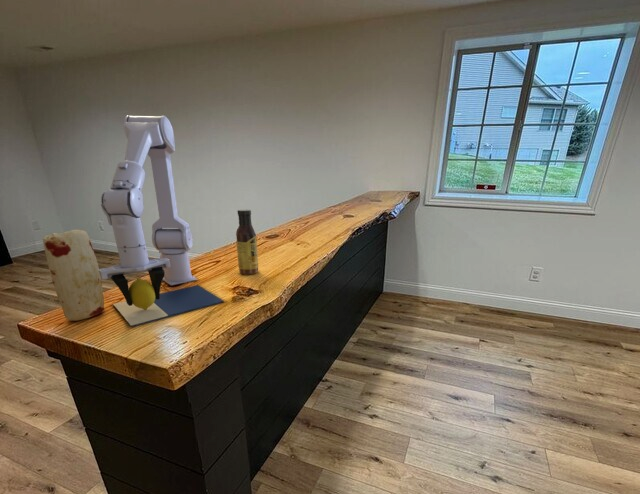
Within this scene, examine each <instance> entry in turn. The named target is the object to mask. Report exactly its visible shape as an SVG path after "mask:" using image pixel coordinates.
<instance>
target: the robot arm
mask: <svg viewBox="0 0 640 494" xmlns="http://www.w3.org/2000/svg"><path fill="white" fill-rule="evenodd" d="M123 130H124V133H125V137H126V139H127V143H126V148H125V156H124V160H121V161H119V162H118V163H117V165H116V168H115V172H114V174H113V178H112V181H111V184H110V188H108V189H106V190H105V191H104V192H102V193H101V196H100V208H101V210H102V212H103V214H104V215H105V216H106V219H107V222H108V224H109V225H110V226H112V232H113V235H114V239H115V244H116V248H117V253H118V257H119V261H120V263H119V264H115V265H112V266H111V265H110V266H108V267H103V268H99V273H100V277H101V280H107V279H109V278H110V279H111V280H112V282H113V283H114V284H115V285H116V286H117V288H118V289H119V291H120V292H121V294H122V296H123V297H124V299H125V301H126V302H127V304H128V305H129V306H132V300H131V297H130V293H129V281H128V279H127V278H126V276H125V275H130V274H136V273H137V274H138V273H143V272H146V271H147V272H148V275H149V279H150V283H151V284H152V286H153V288H154V290H155V298H156V299H160V294H161V287H162V283H163V282H165V283H167V284H168V285H169V286H175V285H181V284H185V283H190V282H195V281H197V280H198V278H197V277H195V276H194V275H192V270H191V269H192V268H191V261H190V256H189V251H190V250H191V249H192V248H193V243H194V239H193V234H192V231H191V226H190V223H188V222H187V221H185V220H184V219H183V218H181V217H179V212H178V206H177V205H178V204H177V198H176V190H175V182H174V175H173V167H172V157H171V154H173V153H175V152H176V148H175V147H176V143H175V135H174V129H173V126H172V124H171V121H170V120H169V118H167V116H166V115H129V114H127V115H126V116H125V117H124V120H123ZM147 156H148V157H149V158H150V163H151V170H152V177H153V184H154V190H155V191H154V192H155V196H156V197H155V198H156V205H157V211H158V219H156V221H154V223H152V225H151V229H152V230H151V232H152V233H151V243H152V245H153V247H154V248H155V249H156V251H158V253H159V254H160V256H159V258H153V259H149V253H148V250H147V244H146V238H145V234H144V229H143V224H142V218H141V217H142V215H143V213H144V209H145V207H144V195H143V193H142V192H143V187H144V183H145V179H146V172H145V169H144V168H143V166H144V164H145V161H146V159H147Z"/></svg>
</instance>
